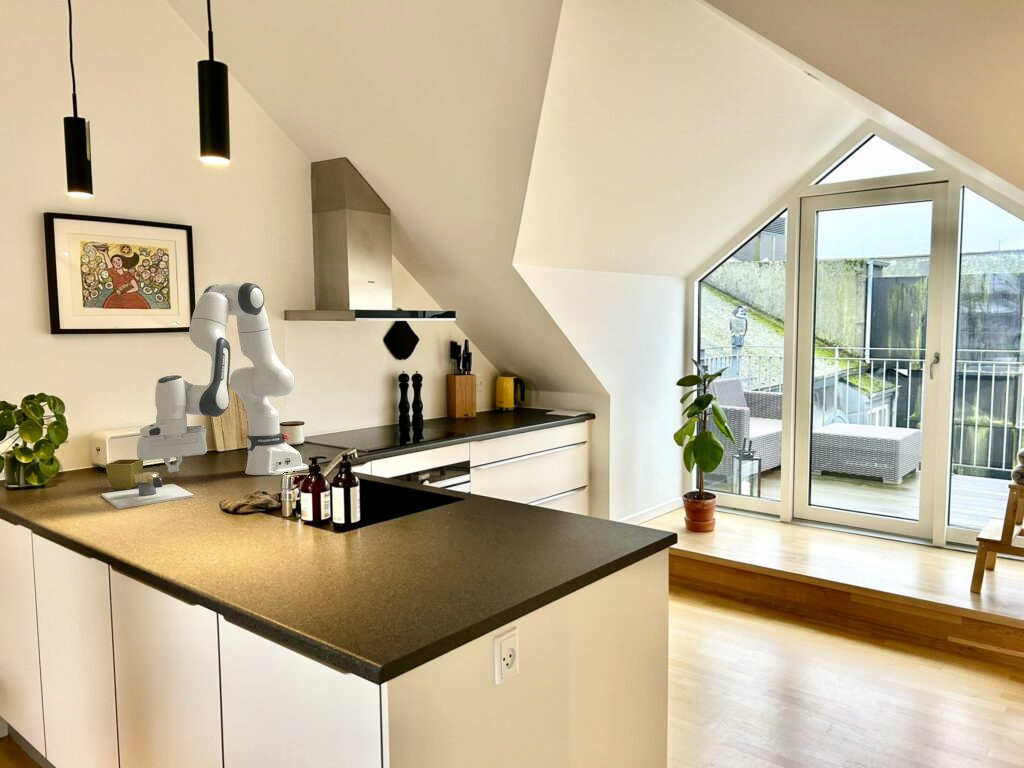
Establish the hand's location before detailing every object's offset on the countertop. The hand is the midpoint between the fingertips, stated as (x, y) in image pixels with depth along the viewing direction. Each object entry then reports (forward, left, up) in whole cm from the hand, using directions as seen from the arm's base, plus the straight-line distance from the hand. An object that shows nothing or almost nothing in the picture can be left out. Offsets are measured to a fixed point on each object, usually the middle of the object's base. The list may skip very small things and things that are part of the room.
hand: (173, 471), depth 238 cm
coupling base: (+6, -9, -9) cm, 14 cm away
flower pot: (+8, -28, -9) cm, 31 cm away
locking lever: (+6, -4, -4) cm, 8 cm away
